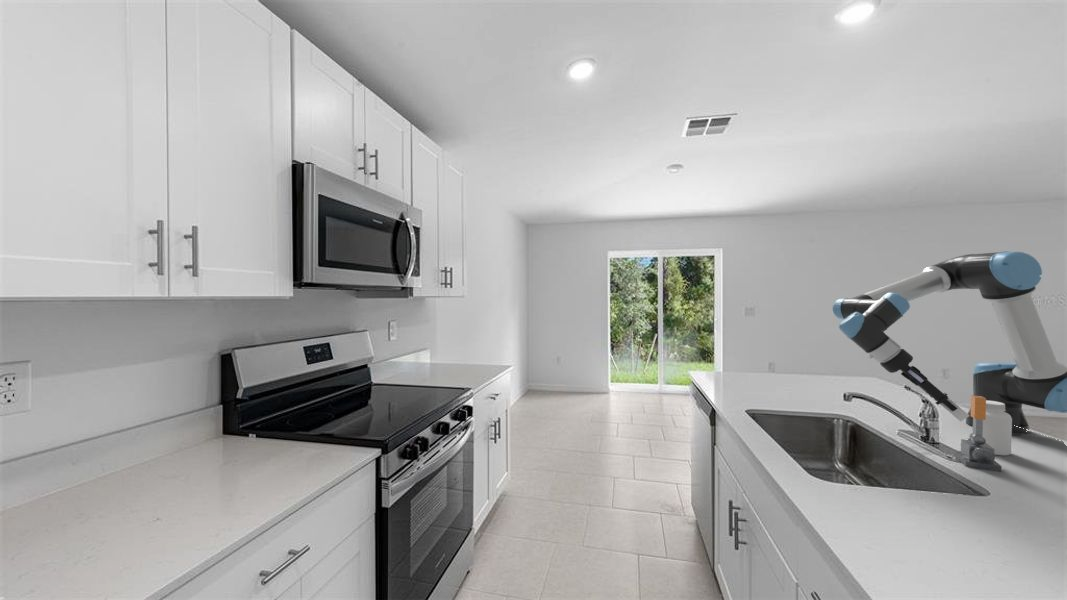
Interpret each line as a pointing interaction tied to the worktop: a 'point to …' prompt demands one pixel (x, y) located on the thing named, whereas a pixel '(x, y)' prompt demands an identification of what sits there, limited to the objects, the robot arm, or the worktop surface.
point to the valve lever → (978, 418)
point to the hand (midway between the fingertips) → (964, 417)
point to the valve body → (977, 455)
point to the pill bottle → (997, 428)
